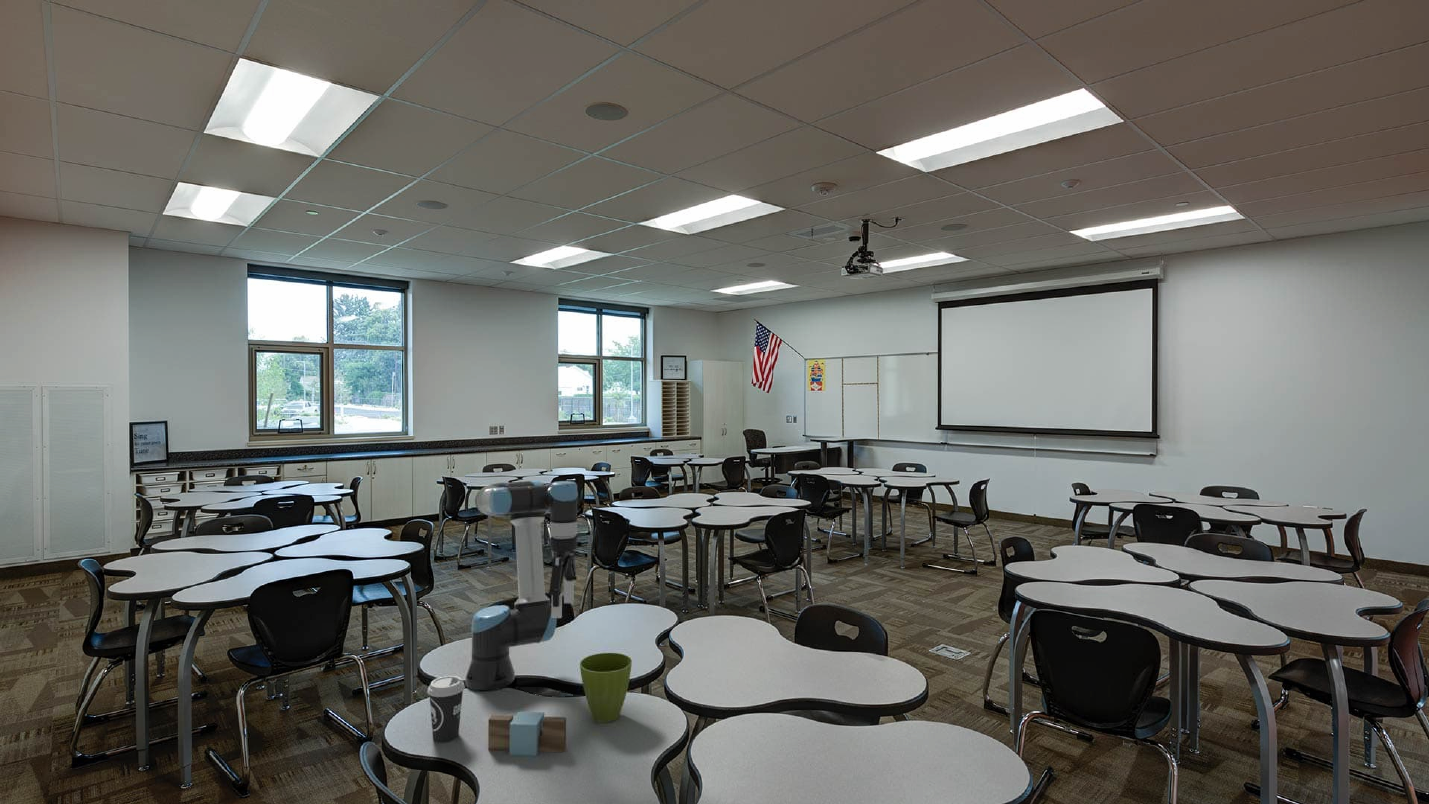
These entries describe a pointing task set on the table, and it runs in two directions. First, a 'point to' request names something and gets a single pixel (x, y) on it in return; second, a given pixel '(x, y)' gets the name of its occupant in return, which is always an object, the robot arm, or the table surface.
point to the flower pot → (605, 684)
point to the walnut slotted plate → (547, 740)
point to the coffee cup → (445, 707)
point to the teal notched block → (525, 733)
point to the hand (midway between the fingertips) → (562, 610)
